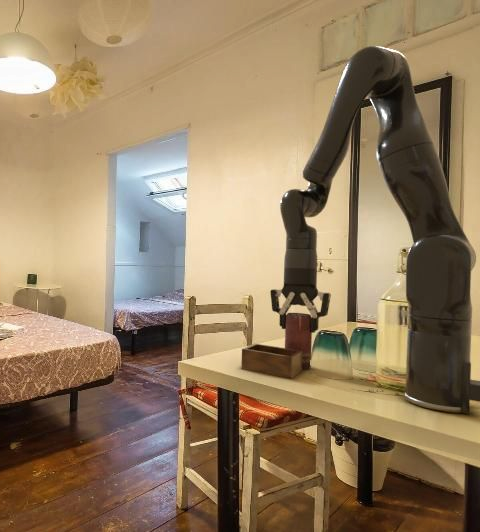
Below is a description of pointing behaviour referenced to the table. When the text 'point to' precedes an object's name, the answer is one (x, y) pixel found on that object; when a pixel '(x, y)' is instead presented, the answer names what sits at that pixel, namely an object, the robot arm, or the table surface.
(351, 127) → the robot arm
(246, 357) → the holder
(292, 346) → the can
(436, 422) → the table surface
